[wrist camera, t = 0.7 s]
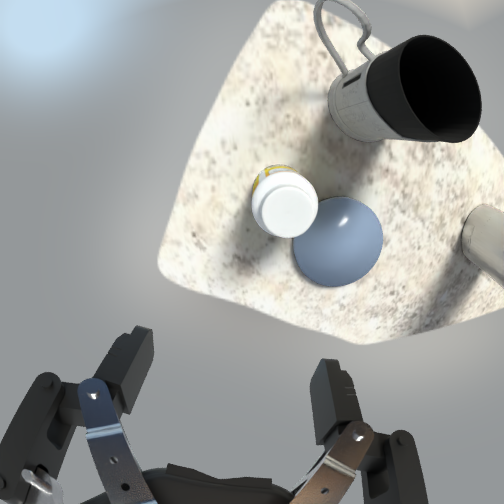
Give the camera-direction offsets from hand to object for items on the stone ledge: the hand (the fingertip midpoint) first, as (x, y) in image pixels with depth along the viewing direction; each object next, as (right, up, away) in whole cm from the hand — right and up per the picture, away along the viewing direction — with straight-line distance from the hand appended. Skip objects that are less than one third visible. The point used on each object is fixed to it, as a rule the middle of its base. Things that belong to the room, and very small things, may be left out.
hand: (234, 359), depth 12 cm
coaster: (+11, +6, +19) cm, 23 cm away
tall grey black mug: (+11, +23, +12) cm, 28 cm away
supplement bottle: (+4, +12, +17) cm, 21 cm away
